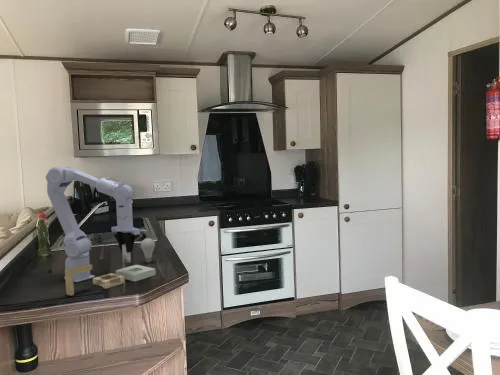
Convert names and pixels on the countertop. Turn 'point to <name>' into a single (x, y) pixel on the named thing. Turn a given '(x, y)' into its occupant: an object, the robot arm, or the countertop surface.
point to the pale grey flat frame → (136, 272)
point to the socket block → (109, 280)
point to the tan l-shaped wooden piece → (69, 276)
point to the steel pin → (125, 254)
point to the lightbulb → (148, 248)
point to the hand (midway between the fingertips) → (126, 251)
